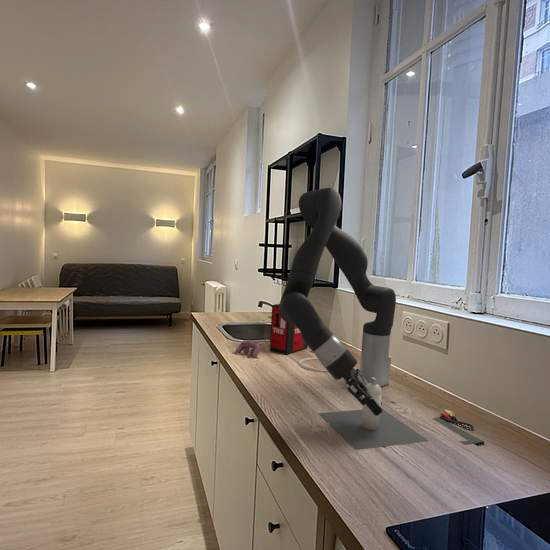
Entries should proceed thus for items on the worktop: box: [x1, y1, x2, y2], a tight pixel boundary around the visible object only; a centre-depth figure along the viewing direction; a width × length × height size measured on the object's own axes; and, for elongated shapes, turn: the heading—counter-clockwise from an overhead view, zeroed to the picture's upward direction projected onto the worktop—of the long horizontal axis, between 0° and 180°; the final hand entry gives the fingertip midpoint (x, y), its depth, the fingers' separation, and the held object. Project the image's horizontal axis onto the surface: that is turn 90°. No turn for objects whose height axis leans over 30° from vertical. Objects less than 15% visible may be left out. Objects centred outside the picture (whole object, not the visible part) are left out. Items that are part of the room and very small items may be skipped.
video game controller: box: [235, 339, 262, 359], centre depth 166 cm, size 10×5×7 cm, turn 59°
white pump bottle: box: [361, 377, 383, 430], centre depth 103 cm, size 4×4×12 cm
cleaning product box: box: [269, 303, 308, 356], centre depth 177 cm, size 16×9×20 cm, turn 144°
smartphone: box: [432, 417, 485, 446], centre depth 104 cm, size 7×1×15 cm
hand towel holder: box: [298, 356, 329, 373], centre depth 158 cm, size 17×4×21 cm
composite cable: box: [438, 408, 475, 430], centre depth 110 cm, size 10×5×2 cm, turn 24°
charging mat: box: [317, 407, 430, 451], centre depth 103 cm, size 20×20×1 cm
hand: (379, 409), depth 102 cm, fingers closed on white pump bottle, 4 cm apart
